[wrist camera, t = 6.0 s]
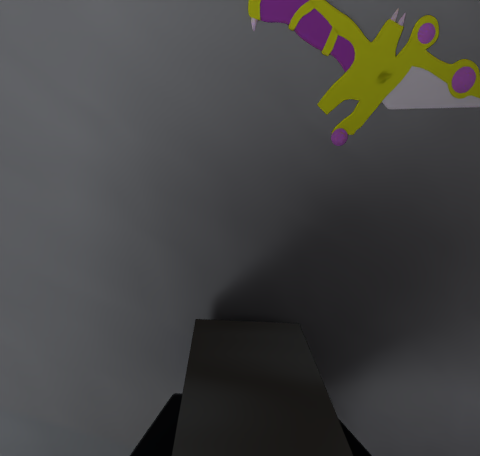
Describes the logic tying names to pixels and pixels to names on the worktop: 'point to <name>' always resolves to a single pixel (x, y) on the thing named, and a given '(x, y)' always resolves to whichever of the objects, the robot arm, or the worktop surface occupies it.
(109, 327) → the worktop surface
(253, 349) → the wooden mallet
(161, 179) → the worktop surface
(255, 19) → the decorative knife
